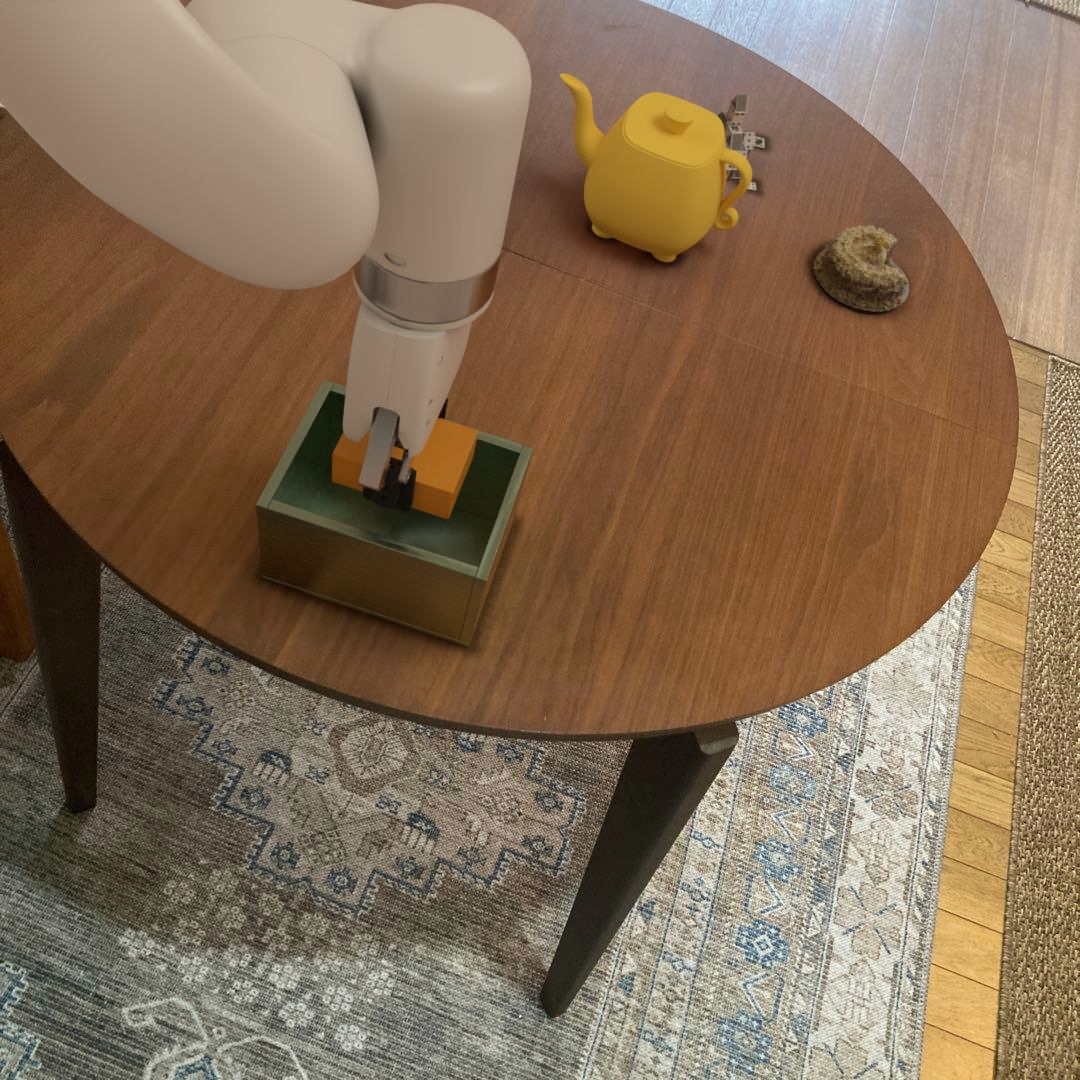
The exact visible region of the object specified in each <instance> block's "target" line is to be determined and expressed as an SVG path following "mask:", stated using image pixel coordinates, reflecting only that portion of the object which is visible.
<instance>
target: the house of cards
mask: <svg viewBox="0 0 1080 1080" xmlns="http://www.w3.org/2000/svg"><path fill="white" fill-rule="evenodd" d="M749 96H750V94H749V93H737V94H736V95H735V96H734V97H733V98H732V99H731V100H730V102H729V103H730V105H729V106H728V110H721V111H720V113H719V114H718V115H717V116H718V117H719V118H720V120H721V121H722V123H723V125H724V131H725V138H726V149H730V150H734V151H737V152H738V153H740V154H741V155H743V156H744V157H745V158H746V159H747V161H749V160H748V159H749V157H750V154H751V152H752V151H753V150H754V148H755V147H758V148H762V149H765V138H763V137H760V136H757V135H756V131H744V132H743V130H742V128H741V127H742V125H743V123H744V119H745V117H746V115H747V114H748V105H749V104H748V103H749ZM732 179H735V180H737V179H739V182H740V181H741V179H742V176H741V174H740V172H739V171H738V170H737V169H736V168H735V167H734V166H732V165H730V164H727V171H726V181H730V180H732ZM747 190H749V191H750V190H751V191H757V183H756V182H753V181H751V183H750V185H749V187H748V189H747Z"/></svg>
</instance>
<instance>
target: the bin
mask: <svg viewBox="0 0 1080 1080" xmlns="http://www.w3.org/2000/svg"><path fill="white" fill-rule="evenodd" d="M345 394H346V385H343V384H341V383H337V382H334V381H330V380H328V379H325V378H323V379H322V381H321V383H320V385H319V387H318V389H317V391H316V392H315V394H314V396H313V398H312V400H311V401H310V404H308V405H309V406H308V407H307V409H306V411H305V413H304V414H303V416H302V419H301V420H300V422H299V423H298V425H297V427H296V430H295V431H294V433H293V435H292V436H291V439H290V441H289V442H288V444H287V446H286V448H285V450H284V452H283V453H282V456H281V457H280V459H279V461H278V463H277V465H276V467H275V469H274V470H273V472H272V474H271V476H270V478H269V479H268V481H267V483H266V485H265V487H264V488H263V490H262V492H261V495H260V496H259V497H258V500H257V502H256V504H255V507H256V508H255V509H256V521H257V531H258V545H259V555H260V556H259V557H260V567H261V579H262V580H263V581H266V582H268V583H273V584H275V585H279V586H281V587H285V588H287V589H291V590H292V591H293V590H294V591H297V592H299V593H303V594H305V595H309V596H312V597H315V598H318V599H321V600H323V601H327V602H329V603H333V604H336V605H339V606H342V607H345V608H348V609H352V610H353V611H358V612H360V613H363V614H365V615H370V616H372V617H376V618H379V619H381V620H384V621H388V622H390V623H394V624H396V625H400V626H403V627H406V628H408V629H412V630H415V631H417V632H421V633H424V634H427V635H430V636H433V637H436V638H438V639H443V640H445V641H448V642H452V643H454V644H457V645H460V646H462V647H463V646H464V647H466V648H470V645H471V643H472V641H473V637H474V634H475V631H476V629H477V625H478V623H479V619H480V618H481V614H482V612H483V608H484V606H485V603H486V600H487V597H488V594H489V591H490V588H491V586H492V583H493V580H494V577H495V574H496V571H497V568H498V565H499V563H500V561H501V557H502V554H503V552H504V549H505V546H506V543H507V541H508V539H509V534H510V532H511V529H512V526H513V523H514V520H515V517H516V513H517V511H518V510H517V509H518V505H519V502H520V500H521V499H520V498H521V496H522V491H523V488H524V486H525V485H524V484H525V482H526V478H527V474H528V472H529V471H528V470H529V467H530V464H531V460H532V457H533V454H534V453H533V452H534V448H533V447H531V446H528V445H524V444H522V443H519V442H515V441H512V440H510V439H507V438H503V437H501V436H498V435H495V434H492V433H489V432H486V431H483V430H481V429H480V430H479V429H477V428H473V427H471V426H467V425H464V424H461V423H458V422H455V421H453V420H450V419H446V418H445V420H448V421H451V422H454V423H457V424H460V425H463V426H466V427H470V428H473V429H476V430H478V435H477V440H476V445H475V450H474V455H473V459H472V461H471V464H470V466H469V469H468V471H467V474H466V476H465V479H464V481H463V484H462V486H461V489H460V491H459V494H458V497H457V499H456V502H455V504H454V507H453V509H452V512H451V514H450V517H449V519H445V518H442V517H439V516H436V515H433V514H430V513H427V512H424V511H421V510H418V509H415V508H412V507H411V509H410V511H409V512H405V511H401V510H398V509H395V508H392V509H389V508H385V507H382V506H379V505H377V504H375V503H374V502H373V501H371V500H368V499H366V498H365V497H364V496H363V491H360V490H357V489H354V488H351V487H347V486H344V485H341V484H338V483H335V482H332V458H333V452H334V450H335V448H336V446H337V444H338V442H339V440H340V438H341V436H342V434H343V432H344V431H343V415H344V404H345Z"/></svg>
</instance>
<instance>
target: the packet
mask: <svg viewBox="0 0 1080 1080" xmlns="http://www.w3.org/2000/svg"><path fill="white" fill-rule="evenodd" d="M445 419H446V418H445ZM445 419H442V418H437V420H436V422H435V425H434V427H433V429H432V431H431V434H430V436H429V438H428V440H427V442H426V444H425V446H424V448H423V450H422V452H421V453H420V454H419V455H417V456H415V457H414V462H413V466H412V468H413V469H414V470H416V471H417V474H416V482H415V489H414V497H413V504H412V506H411V507H412V508H415V509H418V510H421V511H424V512H427V513H430V514H433V515H436V516H439V517H442V518H445V519H449V517H450V514H451V512H452V509H453V507H454V504H455V502H456V499H457V497H458V494H459V491H460V489H461V486H462V484H463V481H464V479H465V476H466V474H467V471H468V469H469V466H470V464H471V461H472V459H473V455H474V450H475V445H476V440H477V435H478V430H479V429H477V428H474V429H473V427H471V426H468V427H466V426H467V425H465V426H463V425H464V424H462V425H460V424H461V423H458V422H455V421H452V420H449V419H446V420H445ZM448 420H449V421H448ZM451 421H452V422H451ZM454 422H455V423H454ZM457 423H458V424H457ZM470 427H471V428H470ZM476 429H477V430H476ZM369 433H370V430H369V431H368V433H367V434H366V435H365V436H364V437H363V438H362V440H361V441H360V442H356V441H354V440H351V439H348V438H347V437H346V436H345V434H344V432H343V434H342V436H341V438H340V440H339V442H338V444H337V446H336V448H335V450H334V452H333V458H332V482H335V483H338V484H341V485H344V486H347V487H351V488H354V489H357V490H360V491H363V486H361V485H358V481H359V477H360V473H361V470H362V466H363V463H364V459H365V455H366V450H367V444H368V439H369ZM403 452H404V449H401V448H398V447H395V446H394V447H393V450H392V454H391V457H393V458H396V459H399V460H402V457H403Z"/></svg>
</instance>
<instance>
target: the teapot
mask: <svg viewBox="0 0 1080 1080" xmlns="http://www.w3.org/2000/svg"><path fill="white" fill-rule="evenodd" d="M559 77H560V79H561V81H562V82H563V83H564V84H565V86H566V87H567V88H568V90H569V91H570V93H571V95H572V98H573V101H574V109H575V111H574V112H575V115H574V128H573V129H574V130H573V142H574V143H573V144H574V149H575V152H576V155H577V157H578V158H579V160H580V162H581V163H582V164H583V166H584V167H585V168H586V169H587V173H586V177H585V180H584V185H583V186H584V187H583V201H584V202H583V203H584V206H585V209H586V212H587V215H588V218H589V220H590V221H591V223H592V225H591V230H592V231H593V233H594V234H595V235H596V236H598V237H600V238H603V239H615V240H617V241H620V242H621V243H624V244H626V245H628V246H631V247H634V248H635V249H639V250H642V251H645V252H648V253H651V255H652V256H653V258H655V259H656V260H657V261H660V262H664V263H670V262H673V261H675V260H676V258H677V255H679V254H681V253H684V252H685V251H687V250H689V249H690V248H691V247H693V246H694V245H696V244H697V243H699V242H700V241H701V240H702V239H703V238H704V237H705V236H706V235H707V234H708V232H709V231H710V230H711V229H712V227H714V228H716V229H717V230H720V231H730V230H732V229H734V228H735V226H736V225H737V224H738V222H739V213H738V210H736V208H734V207H732V206H733V205H734V204H735V203H736V202H737V201H739V199H741V197H742V196H743V195H744V194H745V193H746V191H747V190H749V189H748V187H749V185H750V183H751V182H752V179H753V169H752V166H751V164H750V162H749V160H747V159H746V158H745V157H744V156H743V155H741V154H740V153H738V152H737V151H734V150H730V149H726V138H725V131H724V125H723V123H722V121H721V120H720V118H719V117H718V115H717V114H715V113H714V112H712V111H711V110H709V109H706V108H705V107H702V106H700V105H698V104H695V103H693V102H691V101H688V100H686V99H683V98H680V97H677V96H674V95H672V94H667V93H665V92H660V91H652V92H649V93H645V94H643V95H641V96H640V97H639V98H638V99H636V100H635V101H634V102H633V104H631V105H630V106H629V107H628V108H627V109H626V111H625V112H624V113H623V114H622V115H621V116H620V117H619V118H618V119H617V121H616V122H615V123H614V124H613V125H612V126H611V128H610V129H609V130H608V131H607V133H606V134H604V133H603V132H602V131H601V130H600V129H599V128H598V126H597V125H596V123H595V120H594V113H593V112H594V111H593V110H594V109H593V107H594V106H593V105H594V104H593V97H592V94H591V92H590V89H589V88H588V86H586V84H585V83H583V82H582V81H581V80H580V79H579V78H577V77H575V76H572V75H571V74H568V73H562V72H561V73H560V74H559ZM727 164H730V165H732V166H734V167H735V168H736V169H737V170H738V171H739V172H740V174H741V176H742V179H740V180H741V181H740V180H739V183H738V184H737V185H736V187H735V188H734V189H733V190H732V191H730V193H729V194H727V196H726V197H724V195H725V191H726V190H725V189H726V184H727V179H726V171H727ZM723 215H726V216H728V217H729V218H726V217H724V216H723Z"/></svg>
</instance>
